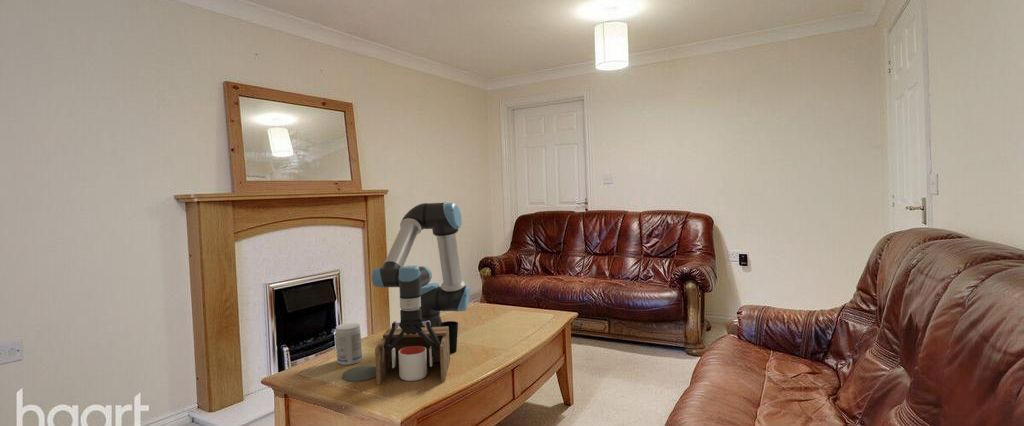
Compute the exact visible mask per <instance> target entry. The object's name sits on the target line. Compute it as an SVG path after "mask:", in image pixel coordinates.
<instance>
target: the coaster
mask: <svg viewBox="0 0 1024 426" xmlns="http://www.w3.org/2000/svg"><path fill="white" fill-rule="evenodd" d="M375 378H376V365H375V366H374V365H363V366H357V367H353V368H351V369H348V370H346V371H344V372H343V373H342V379H343V380H344V381H347V382H357V383H358V382H364V381H369V380H372V379H375Z"/></svg>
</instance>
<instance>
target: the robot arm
mask: <svg viewBox="0 0 1024 426" xmlns="http://www.w3.org/2000/svg"><path fill="white" fill-rule="evenodd" d="M462 224H463V223H462V214H461V210H460V208H459V206H458V205H457V203H455V202H446V201H445V202H431V203H427V202H423V203H418V205H415V206H414V207H412V208H411V209H410V210H408V211H407V212H406V213H405V214H404V216H403V217H402V219H401V221H400V223H399V227H400V228H399V230H398V233H397V235H396V238H395V239H394V241H393V244H392V245H391V248H390V249H389V252H388V254H387V257H386V259H385V261H384V263H383V265H382V267H376V268H374V269H373V270H372V272H371V282H372V285H373V286H374V287H376V288H384V289H385V288H399V308H400V312H399V313H400V317H399V318H400V322H397V321H393V322H392V323H391V327H390V329H391V331H390V333H389V335H388V338H387V340H386V342H385V344H384V346H383V348H386V349H388V350H389V358H392V365H391V368H392V369H394V368H396V367H397V366H396V365H397V364H396V356H395V348H393V347H394V346H395V344H396V343H397V342H398V341H399V339H400V338H401V337H402V336H403V334H404V333H405V334H407V335H409V334H417V333H418V334H419V335H420V336H421V337H422V338H423V339H424V340H425V341H426V342H427V343H428V344H429V346H430V348H429V354H430V362H429V367H433V365H434V362H433V357H435V347H437V346H439V345H440V341H439V339H438V338H437V336H436V334H435V332H434V330H433V329H432V327H440V323H442V322H443V319H442V318H441V312H465V311H467V309H468V307H469V305H470V299H471V288H470V286H466V282H465V280H463V279H462V273H461V265H460V257H459V250H458V243H457V236H456V235H457V233H458V232H459V229H461V226H462ZM423 230H431V231H432V234H433V236H435V237H436V241H437V249H438V254H439V263H440V267H441V268H440V269H441V276H442V283H441V285H440V284H439V283H438V282H433V283H431V281H432V278H433V277H432V276H433V275H432V271H431V270H430V268H429V267H427V266H423V265H422V266H419V265H406V264H405V263H406V261H407V259H408V256H409V254H410V252H411V250H412V247H413V246H414V243H415V240H416V238H417V235H420V234H421V232H422V231H423ZM421 327H426V328H427V329H428V331H429V333H430V335H431V337H432V339H433V340H434V342H435V343H434V342H433V341H432V340H431V339H430V338H429V337H428V336H427V335H426V334H425V332H424V331H423V330H422V329H421ZM397 328H401V329H402V331H401V333H400V334H399V335H398V336H397V338H396V339H395V340H394V341H393V343H392V344H391V345H389V342H390V340H391V338H392V336H393V334H394V331H395V329H397Z"/></svg>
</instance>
